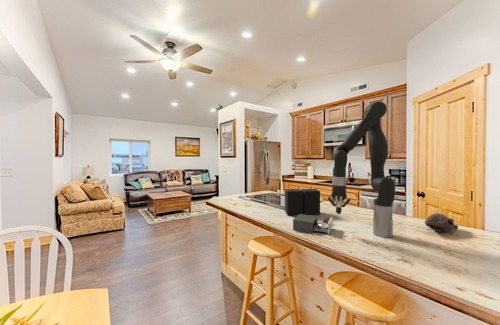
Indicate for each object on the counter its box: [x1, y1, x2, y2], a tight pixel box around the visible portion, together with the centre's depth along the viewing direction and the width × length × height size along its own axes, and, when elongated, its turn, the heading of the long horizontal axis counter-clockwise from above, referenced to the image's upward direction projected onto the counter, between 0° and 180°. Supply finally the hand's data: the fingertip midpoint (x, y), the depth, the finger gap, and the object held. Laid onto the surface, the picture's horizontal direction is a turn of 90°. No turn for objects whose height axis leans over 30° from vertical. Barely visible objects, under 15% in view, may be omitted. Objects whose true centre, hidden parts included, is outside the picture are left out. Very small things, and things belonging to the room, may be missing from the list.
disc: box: [318, 221, 328, 230], centre depth 131 cm, size 6×6×2 cm
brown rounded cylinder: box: [322, 217, 330, 224], centre depth 144 cm, size 4×4×4 cm
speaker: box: [284, 188, 321, 216], centre depth 169 cm, size 25×11×19 cm, turn 91°
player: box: [292, 213, 319, 234], centre depth 136 cm, size 12×14×6 cm
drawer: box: [314, 216, 333, 235], centre depth 131 cm, size 9×13×6 cm
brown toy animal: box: [424, 212, 459, 233], centre depth 127 cm, size 25×12×10 cm, turn 121°
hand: (338, 213), depth 127 cm, fingers closed
